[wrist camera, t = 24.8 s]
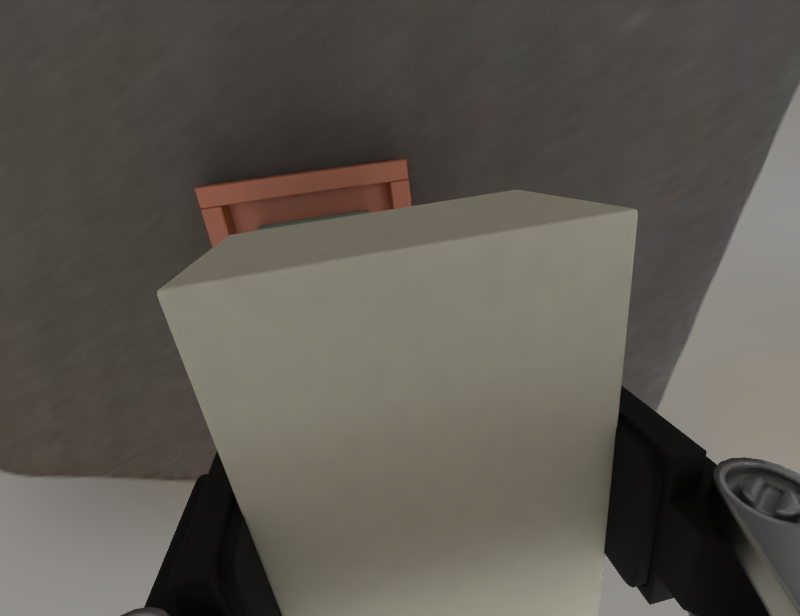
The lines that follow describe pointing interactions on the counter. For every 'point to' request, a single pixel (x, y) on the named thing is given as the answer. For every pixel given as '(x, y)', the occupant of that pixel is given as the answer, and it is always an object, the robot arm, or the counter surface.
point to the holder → (302, 196)
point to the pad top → (418, 400)
